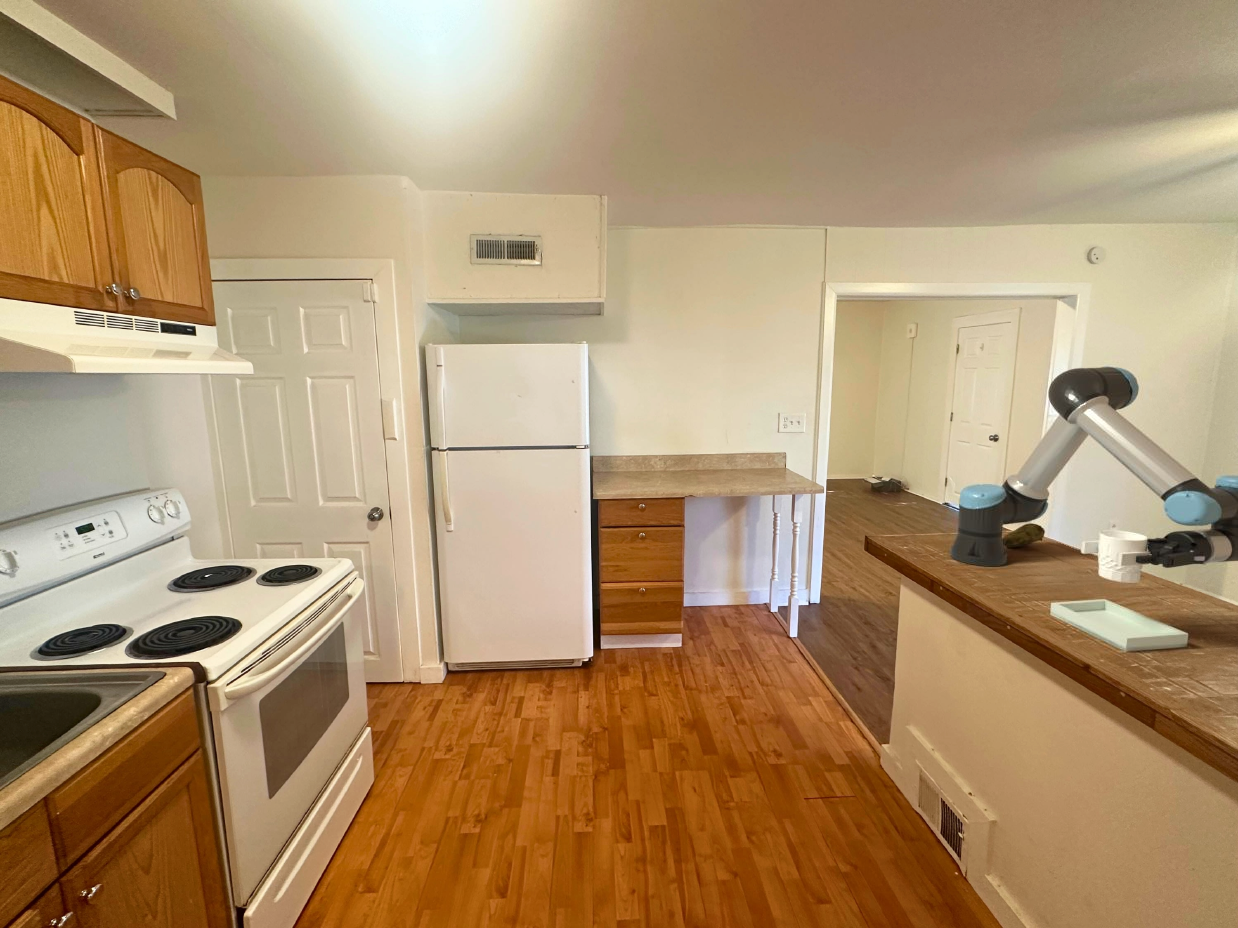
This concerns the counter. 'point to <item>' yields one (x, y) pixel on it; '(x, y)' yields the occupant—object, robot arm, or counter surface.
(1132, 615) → the tray
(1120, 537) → the white cup
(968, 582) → the counter surface
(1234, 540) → the robot arm
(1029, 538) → the avocado
